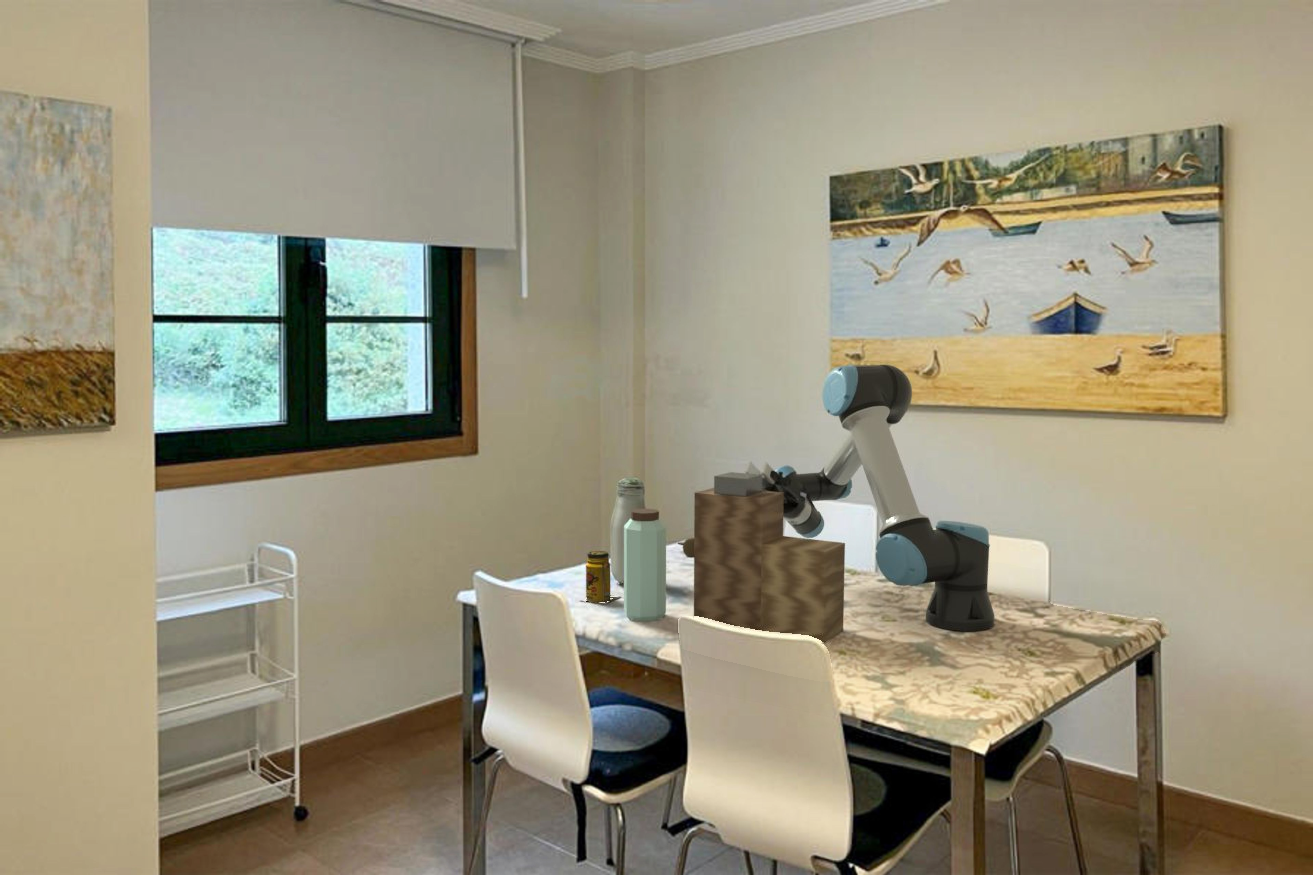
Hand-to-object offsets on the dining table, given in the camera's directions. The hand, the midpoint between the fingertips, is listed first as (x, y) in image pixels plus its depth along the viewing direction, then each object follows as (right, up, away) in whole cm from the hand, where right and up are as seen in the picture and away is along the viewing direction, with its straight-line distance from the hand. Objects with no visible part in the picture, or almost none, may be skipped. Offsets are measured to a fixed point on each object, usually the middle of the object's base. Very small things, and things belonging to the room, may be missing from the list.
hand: (755, 466), depth 255 cm
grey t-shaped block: (-1, -5, -1) cm, 5 cm away
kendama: (-8, -28, +69) cm, 75 cm away
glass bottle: (-30, -32, +34) cm, 55 cm away
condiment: (-37, -34, +17) cm, 53 cm away
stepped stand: (+2, -36, -7) cm, 37 cm away
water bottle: (-26, -35, +1) cm, 44 cm away
